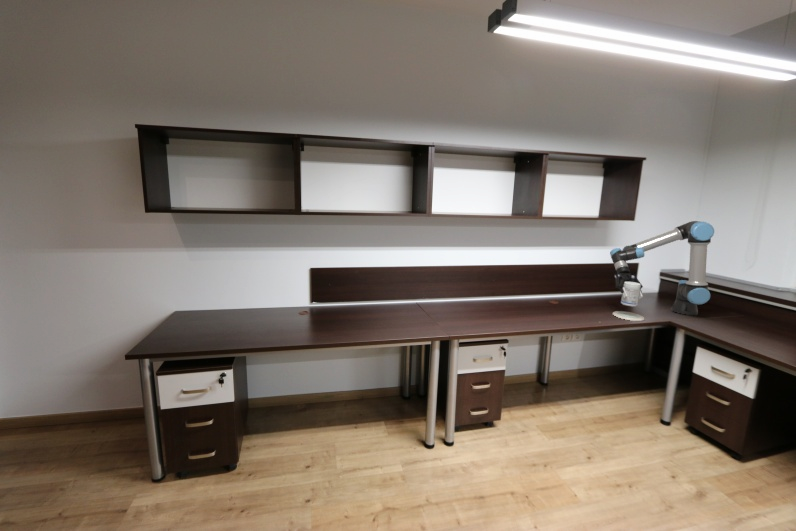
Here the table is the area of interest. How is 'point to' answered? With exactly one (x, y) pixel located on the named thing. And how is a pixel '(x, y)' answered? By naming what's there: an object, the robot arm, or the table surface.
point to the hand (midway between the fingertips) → (633, 297)
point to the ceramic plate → (628, 316)
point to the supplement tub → (631, 293)
